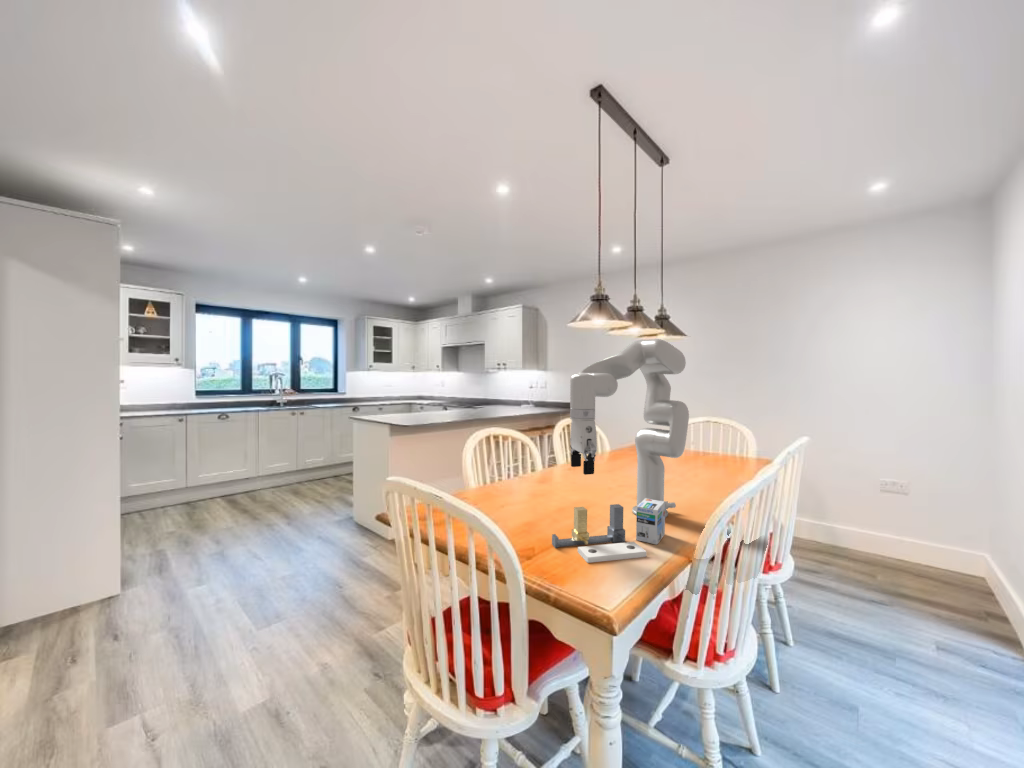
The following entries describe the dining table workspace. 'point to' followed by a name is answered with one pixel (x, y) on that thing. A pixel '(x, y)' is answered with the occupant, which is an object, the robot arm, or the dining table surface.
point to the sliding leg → (580, 525)
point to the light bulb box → (650, 521)
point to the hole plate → (611, 552)
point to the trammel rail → (613, 535)
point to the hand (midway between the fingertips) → (582, 470)
